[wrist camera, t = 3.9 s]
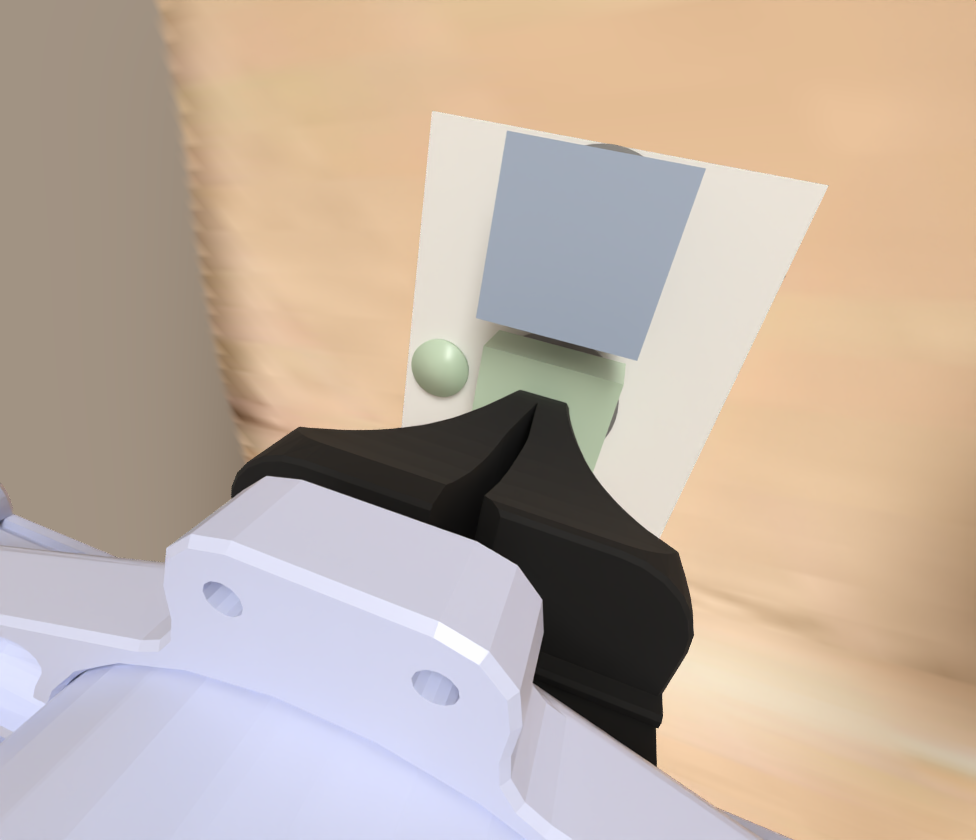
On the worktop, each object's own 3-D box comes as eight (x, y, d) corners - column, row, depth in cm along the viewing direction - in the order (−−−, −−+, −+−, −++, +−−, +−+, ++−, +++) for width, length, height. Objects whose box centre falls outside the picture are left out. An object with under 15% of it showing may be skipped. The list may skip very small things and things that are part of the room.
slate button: (637, 339, 11) (636, 361, 9) (494, 303, 11) (475, 318, 10) (697, 171, 9) (706, 168, 8) (525, 138, 10) (506, 130, 8)
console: (630, 560, 18) (629, 604, 16) (415, 486, 19) (390, 519, 17) (801, 185, 11) (831, 185, 10) (460, 120, 13) (428, 109, 11)
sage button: (588, 471, 14) (583, 499, 13) (478, 436, 15) (462, 460, 13) (625, 363, 12) (623, 384, 11) (499, 329, 13) (483, 345, 12)
